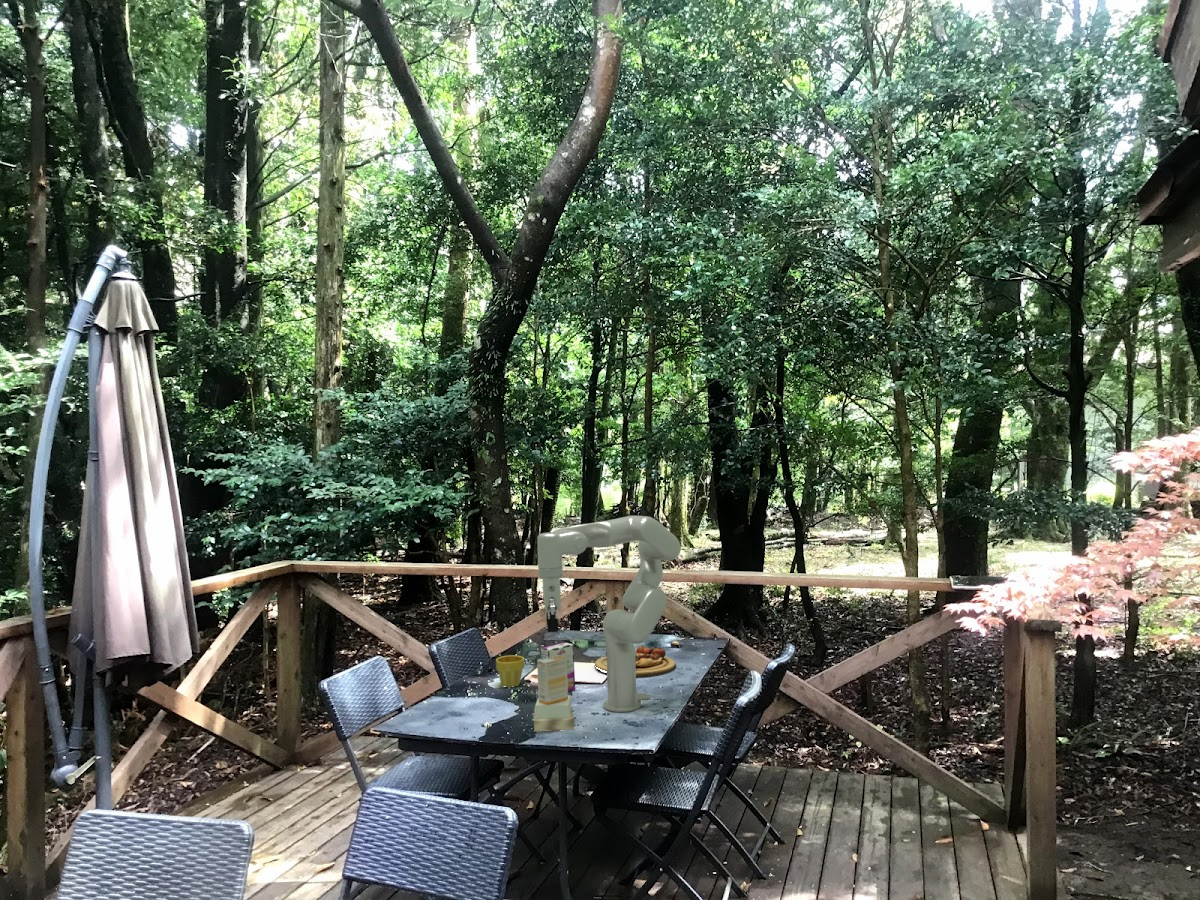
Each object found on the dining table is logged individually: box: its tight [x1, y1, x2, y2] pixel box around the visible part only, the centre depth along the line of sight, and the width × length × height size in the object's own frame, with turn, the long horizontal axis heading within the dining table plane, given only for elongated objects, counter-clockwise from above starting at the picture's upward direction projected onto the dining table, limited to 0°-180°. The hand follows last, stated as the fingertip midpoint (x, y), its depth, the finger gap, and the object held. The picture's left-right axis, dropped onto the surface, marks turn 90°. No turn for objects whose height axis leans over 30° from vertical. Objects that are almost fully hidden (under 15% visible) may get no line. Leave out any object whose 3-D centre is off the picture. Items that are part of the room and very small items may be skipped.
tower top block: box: [534, 694, 572, 719], centre depth 239 cm, size 10×10×4 cm
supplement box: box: [536, 655, 569, 705], centre depth 239 cm, size 8×5×13 cm, turn 129°
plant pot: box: [495, 654, 525, 687], centre depth 283 cm, size 10×10×10 cm
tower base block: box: [533, 706, 575, 733], centre depth 239 cm, size 12×12×4 cm
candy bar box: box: [540, 642, 576, 693], centre depth 273 cm, size 11×5×16 cm, turn 130°
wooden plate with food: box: [594, 644, 677, 678], centre depth 305 cm, size 32×32×8 cm
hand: (552, 628), depth 240 cm, fingers open, 9 cm apart
